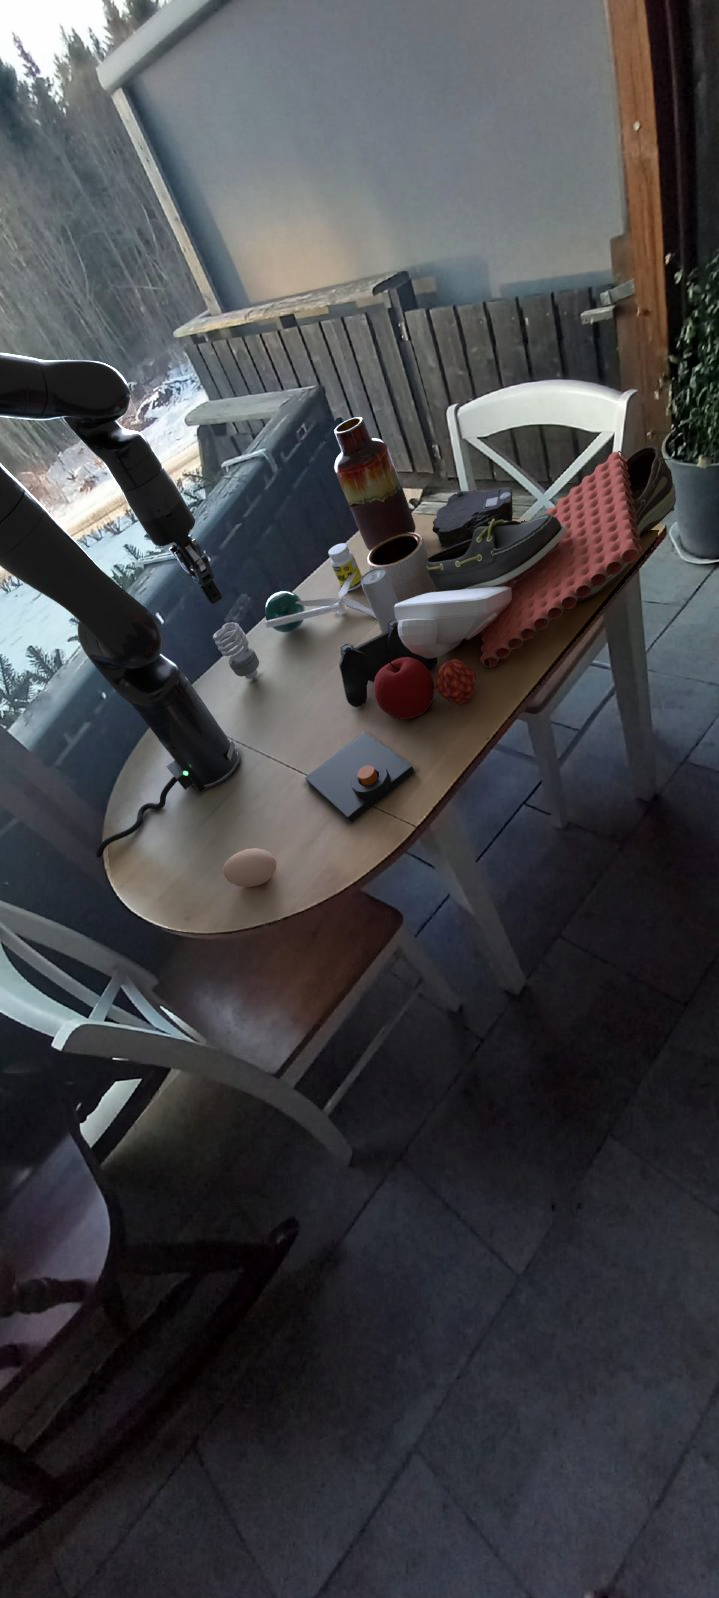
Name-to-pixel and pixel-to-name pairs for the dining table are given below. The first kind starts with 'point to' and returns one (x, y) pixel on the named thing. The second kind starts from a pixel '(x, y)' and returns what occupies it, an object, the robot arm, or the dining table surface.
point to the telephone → (448, 618)
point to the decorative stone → (455, 681)
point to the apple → (404, 688)
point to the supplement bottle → (345, 565)
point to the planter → (403, 564)
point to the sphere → (283, 609)
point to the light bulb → (237, 650)
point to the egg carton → (570, 558)
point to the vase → (371, 484)
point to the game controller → (373, 662)
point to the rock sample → (471, 514)
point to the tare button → (367, 775)
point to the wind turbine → (328, 608)
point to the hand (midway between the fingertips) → (216, 599)
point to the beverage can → (380, 596)
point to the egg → (250, 867)
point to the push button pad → (342, 781)
